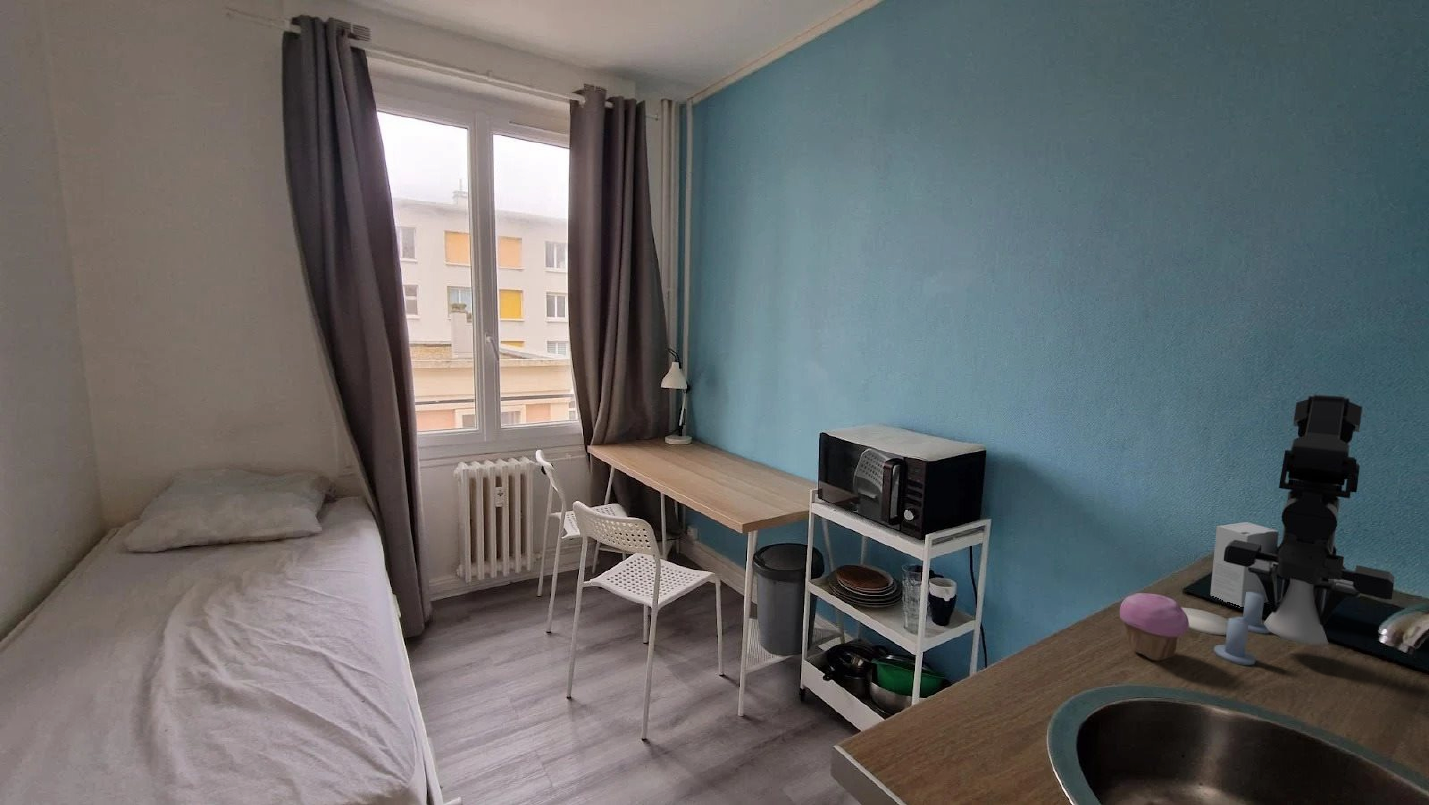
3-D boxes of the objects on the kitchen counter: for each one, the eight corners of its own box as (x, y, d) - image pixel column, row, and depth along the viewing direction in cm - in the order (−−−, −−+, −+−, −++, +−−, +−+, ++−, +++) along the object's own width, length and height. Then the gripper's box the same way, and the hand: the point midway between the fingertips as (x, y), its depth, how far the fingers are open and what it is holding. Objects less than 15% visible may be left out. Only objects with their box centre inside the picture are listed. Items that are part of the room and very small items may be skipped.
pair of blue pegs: (1235, 617, 108) (1239, 586, 107) (1272, 627, 104) (1276, 595, 104) (1210, 655, 95) (1215, 620, 94) (1252, 669, 91) (1256, 632, 90)
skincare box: (1239, 592, 119) (1245, 520, 117) (1274, 605, 113) (1281, 530, 111) (1208, 596, 117) (1214, 523, 115) (1241, 609, 111) (1248, 533, 109)
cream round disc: (1177, 606, 112) (1177, 603, 112) (1239, 624, 105) (1239, 621, 105) (1164, 620, 106) (1164, 617, 106) (1229, 640, 100) (1229, 637, 100)
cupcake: (1195, 661, 93) (1202, 601, 92) (1166, 675, 89) (1172, 613, 88) (1134, 635, 101) (1139, 580, 100) (1105, 647, 97) (1110, 590, 96)
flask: (1340, 649, 90) (1349, 587, 89) (1284, 644, 92) (1292, 583, 91) (1304, 626, 97) (1312, 569, 96) (1253, 621, 99) (1260, 565, 98)
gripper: (1222, 520, 94) (1211, 611, 96) (1399, 553, 80) (1382, 660, 82) (1235, 507, 101) (1225, 592, 103) (1400, 536, 87) (1385, 634, 89)
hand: (1297, 617), depth 94 cm, fingers closed on flask, 5 cm apart
